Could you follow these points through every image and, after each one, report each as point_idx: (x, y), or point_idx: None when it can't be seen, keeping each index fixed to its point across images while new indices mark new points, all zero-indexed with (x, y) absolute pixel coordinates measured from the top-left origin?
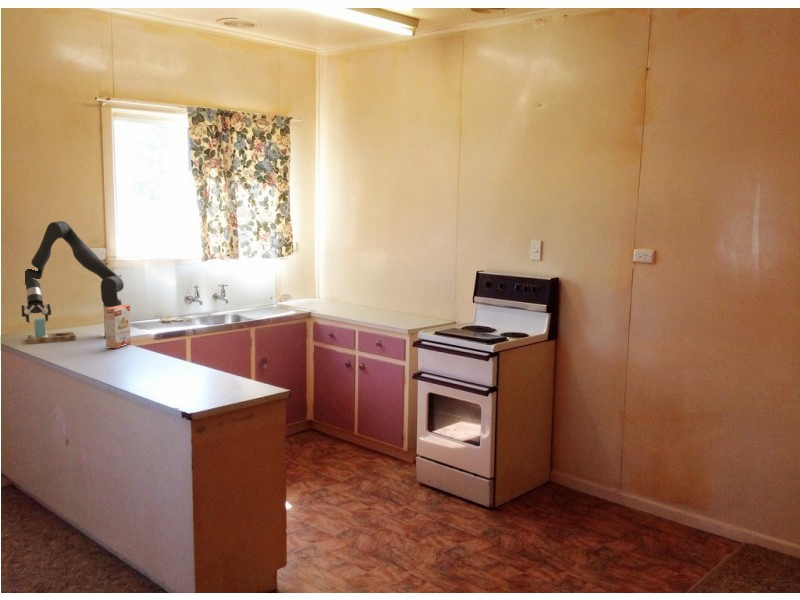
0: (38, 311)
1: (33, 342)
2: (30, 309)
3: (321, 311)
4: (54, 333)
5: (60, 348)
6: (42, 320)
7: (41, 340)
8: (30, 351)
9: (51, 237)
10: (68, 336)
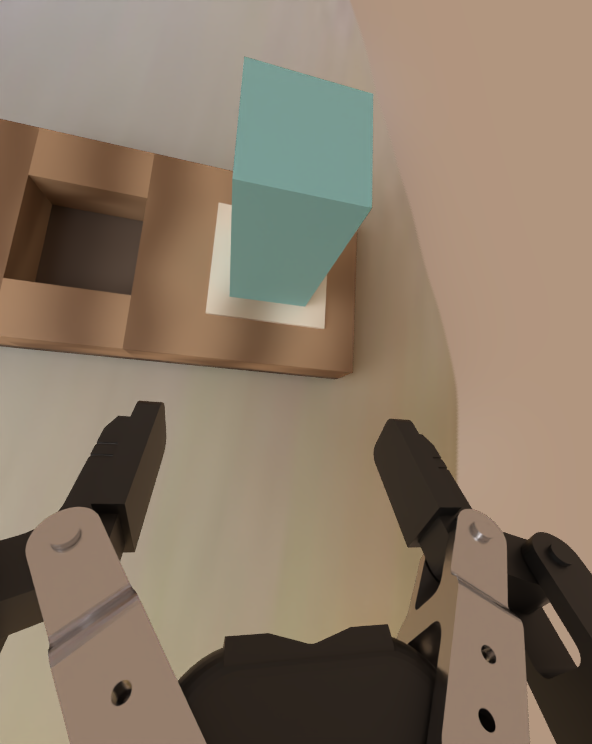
0: (253, 644)
1: None
2: (488, 665)
3: None
4: (127, 331)
5: (192, 20)
6: (274, 80)
7: None
8: (358, 61)
9: None
10: (50, 131)
